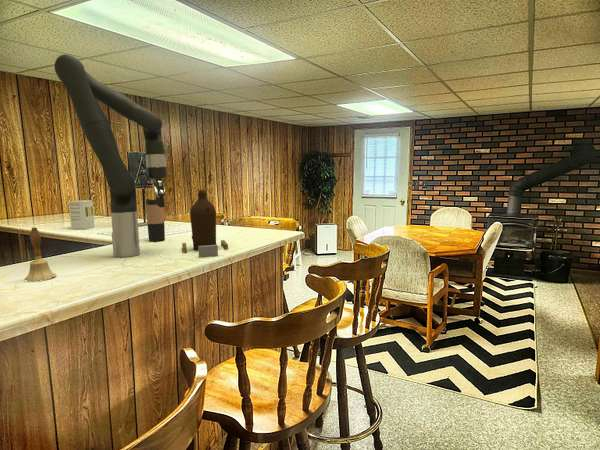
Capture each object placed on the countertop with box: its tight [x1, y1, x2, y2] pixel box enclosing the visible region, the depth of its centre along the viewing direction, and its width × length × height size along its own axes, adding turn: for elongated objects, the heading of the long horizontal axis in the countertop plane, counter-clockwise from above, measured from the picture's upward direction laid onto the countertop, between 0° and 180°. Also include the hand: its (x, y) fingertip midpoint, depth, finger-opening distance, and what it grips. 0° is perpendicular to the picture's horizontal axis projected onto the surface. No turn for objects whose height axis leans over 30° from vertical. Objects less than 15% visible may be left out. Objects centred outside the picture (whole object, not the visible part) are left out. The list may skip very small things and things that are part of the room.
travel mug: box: [145, 198, 166, 243], centre depth 179 cm, size 8×8×20 cm
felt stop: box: [197, 244, 219, 258], centre depth 144 cm, size 7×2×4 cm, turn 109°
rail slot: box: [181, 239, 229, 254], centre depth 159 cm, size 18×12×2 cm, turn 109°
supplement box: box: [68, 199, 96, 230], centre depth 226 cm, size 10×9×17 cm
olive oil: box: [189, 189, 217, 251], centre depth 158 cm, size 11×11×25 cm
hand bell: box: [24, 226, 57, 282], centre depth 116 cm, size 8×8×16 cm
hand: (160, 206), depth 153 cm, fingers open, 8 cm apart
